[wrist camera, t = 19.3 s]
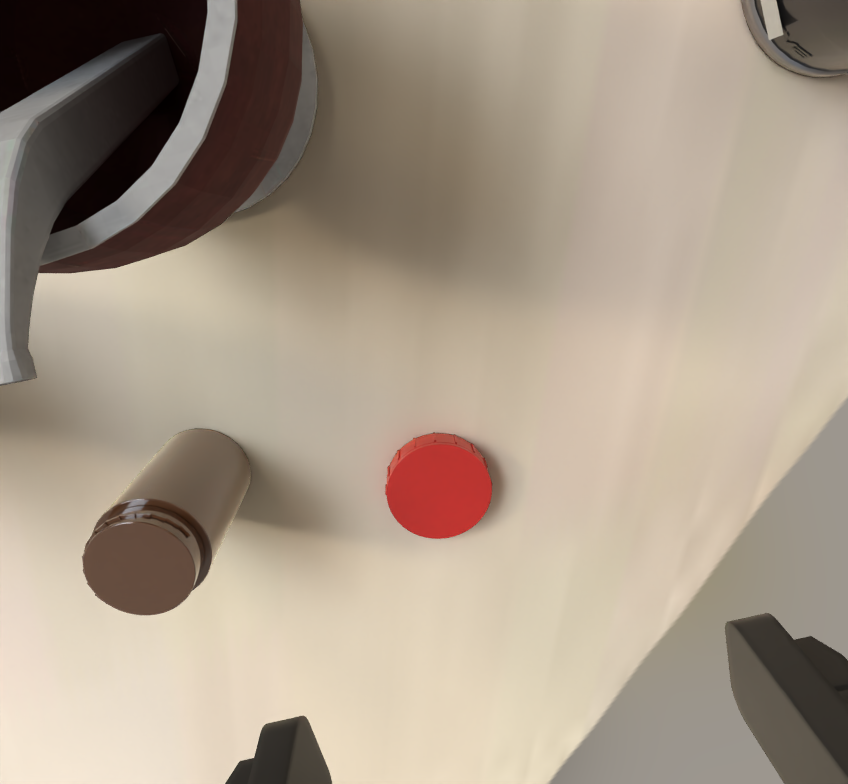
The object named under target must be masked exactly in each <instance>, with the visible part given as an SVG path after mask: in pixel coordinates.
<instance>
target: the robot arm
mask: <svg viewBox="0 0 848 784" xmlns="http://www.w3.org/2000/svg"><path fill="white" fill-rule="evenodd" d="M741 2H742V7H743V11H744V15H745V18H746V21H747V24H748V26H749V28H750V31H751V33H752V35H753V36H754V38H755V40H756V41H757V43H758V44H759V46H760V47H761V48H762V50H763V51H764V52H765V53H766V54H767V55H768V56H769V57H770V58H771V59H773V60H774V61H775V62H776V63H778V64H779V65H781V66H783V67H784V68H786V69H788V70H790V71H792V72H795V73H798V74H802V75H807V76H813V77H830V76H838V75H842V74H846V73H848V0H741ZM725 633H726V643H727V652H728V661H729V670H730V679H731V687H732V691H733V694H734V698H735V700H736V703H737V705H738V708H739V710H740V712H741V715H742V716H743V718H744V720H745V722H746V724H747V725H748V727H749V728H750V730H751V732H752V733H753V735H754V736H755V738H756V739H757V741H758V743H759V744H760V746H761V747H762V749H763V750H764V752H765V754H766V755H767V757H768V758H769V760H770V762H771V763H772V765H773V766H774V768H775V769H776V771H777V773H778V774H779V776H780V777H781V779H782V780H783V782H784V783H785V784H848V660H847V659H846V658H845V657H844V656H843V655H842V654H840V653H838V652H837V651H835V650H833V649H832V648H830V647H828V646H827V645H825V644H823V643H822V642H820V641H818V640H817V639H815V638H813V637H812V636H810V637H806V638H800V639H796V640H793V638H792V637H791V636H790V635H789V634H788V632H787V631H786V630H785V629H784V628H783V627H782V625H781V624H780V623H779V622H778V621H777V620H776V619H775V618H774V617H773V616H772V615H771V614H769V613H765V614H760V615H756V616H752V617H748V618H743V619H738V620H734V621H730V622H727V623H726V625H725ZM225 784H332V781H331V776H330V773H329V770H328V767H327V765H326V762H325V760H324V757H323V755H322V753H321V750H320V748H319V745H318V743H317V740H316V738H315V736H314V733H313V731H312V728H311V726H310V723H309V721H308V719H307V718H306V717H305V716H299V717H295V718H291V719H286V720H282V721H277V722H273V723H268V724H265V725H264V727H263V728H262V730H261V734H260V737H259V741H258V745H257V749H256V753H255V757H254V758H252V759H248V760H243V761H240V762H239V763H238V765H237V766H236V768H235V769H234V771H233V773H232V774H231V776H230V777H229V779H228V780H227V782H226V783H225Z"/></svg>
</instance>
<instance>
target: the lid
mask: <svg viewBox="0 0 848 784" xmlns="http://www.w3.org/2000/svg"><path fill="white" fill-rule="evenodd" d="M385 494H386V495H387V501H388V505H389V508H390V510H391V512H392V514H393V516H394V517H395V519H396V520H397V521H398V522H399V523H400V524H401V525H402V526H403V527H404V528H406V529H407V530H408V531H410V532H412V533H414V534H417V535H419V536H422V537H426V538H436V539H440V538H449V537H453V536H456V535H459V534H461V533H463V532H466V531H467V530H469V529H470V528H472V527H473V526H474V525H476V524H477V523H478V522H479V521H480V519H481V518H482V517H483V515H484V514H485V512H486V511H487V509H488V506H489V504H490V500H491V495H492V482H491V479H490V476H489V473H488V470H487V464H486V461H485V458H483V457H482V455H481V454H480V453H479V451H478V450H477V449H476V448H475V447H474V446H473V444H472V443H471V444H470V443H469V442H467V441H466V440H464V439H462V438H460V437H457V436H456V435H450V434H441V433H436V434H435V433H433V434H428V435H424V436H421V437H418V438H416V439H415V438H413V440H412V441H410V442H409V443H407V444H406V445H404V446H403V447H402V448H401V449H400V450H398V451H397V453H396V455H395V456H394V458H393V460H392V462H391V464H390V466H388V474H387V484H386V493H385Z"/></svg>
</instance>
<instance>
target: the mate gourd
mask: <svg viewBox="0 0 848 784" xmlns="http://www.w3.org/2000/svg"><path fill="white" fill-rule="evenodd" d="M317 92H318V78H317V71H316V64H315V57H314V51H313V48H312V45H311V42H310V39H309V36H308V33H307V30H306V27H305V24H304V21H303V19H302V13H301V6H300V0H0V386H1V385H6V384H12V383H17V382H22V381H26V380H31V379H35V378H37V375H36V370H35V366H34V362H33V358H32V356H31V354H30V352H29V350H28V339H29V326H30V317H31V309H32V301H33V294H34V289H35V285H36V280H37V275H38V273H76V272H85V271H93V270H102V269H110V268H117V267H121V266H124V265H127V264H130V263H133V262H137V261H140V260H143V259H146V258H149V257H152V256H155V255H158V254H161V253H164V252H167V251H170V250H173V249H176V248H179V247H182V246H185V245H187V244H189V243H191V242H192V241H194V240H196V239H197V238H199V237H201V236H202V235H204V234H206V233H207V232H209V231H211V230H212V229H214V228H216V227H217V226H219V225H221V224H222V223H223V222H224V221H225V220H226V219H227V218H228V217H229V216H230V215H231V214H232V213H235V212H238V211H241V210H244V209H247V208H249V207H251V206H252V205H254V204H256V203H258V202H259V201H261V200H263V199H264V198H266V197H268V196H269V195H270V194H271V193H272V192H273V191H274V190H275V189H277V188H278V187H279V186H280V185H281V184H282V183H283V182H284V181H285V180H286V179H287V178H288V176H289V175H290V174H291V172H292V171H293V169H294V168H295V166H296V165H297V164H298V162H299V161H300V159H301V157H302V155H303V153H304V150H305V148H306V146H307V143H308V141H309V139H310V136H311V134H312V129H313V124H314V120H315V115H316V111H317Z"/></svg>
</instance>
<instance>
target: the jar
mask: <svg viewBox="0 0 848 784" xmlns="http://www.w3.org/2000/svg"><path fill="white" fill-rule="evenodd" d="M250 480H251V469H250V464H249V461H248V458H247V456H246V454H245V453H244V451H243V450H242V448H241V447H240V446H239V445H238V444H237V443H236V442H235V441H234V440H232V439H231V438H229V437H228V436H226V435H224V434H222V433H219V432H217V431H213V430H209V429H191V430H186V431H183V432H180V433H178V434H176V435H175V436H173V437H172V438H170V439H169V440H168V441H167V442H166V443H165V444H164V445H163V447H162V448H161V449H160V450H159V451H158V452H157V453H156V455H155V456H154V457H153V458H152V459H151V460H150V461H149V463H148V464H147V465H146V466H145V467H144V468H143V469H142V471H141V472H140V473H139V474H138V475H137V476H136V477H135V479H134V480H133V481H132V482H131V483H130V484H129V485H128V487H127V488H126V489H125V490H124V491H123V492H122V493H121V495H120V496H119V497H118V498H117V499H116V500H115V502H114V503H113V504H112V505H111V506H110V507H109V508H108V510H107V511H106V512H105V513H104V514H103V515H102V516H101V518H100V519H99V520H98V522H97V524H96V526H95V528H94V530H93V533H92V536H91V537H90V539H89V540H88V542H87V543H86V546H85V550H84V554H83V556H82V559H83V568H84V569H83V572H84V574H85V577H86V580H87V584H88V585H89V586H90V587H91V589H92V590H93V591H94V592H95V596H97V597H98V598H99V599H101V600H102V601H103V602H105V603H106V604H108V605H110V606H112V607H113V608H116V609H118V610H120V611H123V612H126V613H130V614H135V615H156V614H160V613H164V612H167V611H169V610H171V609H174V608H175V607H177V606H178V605H180V604H181V603H182V602H183V601H184V600H185V599H186V598H187V597H188V596H189V594H190V593H191V591H192V590H194V589H195V588H196V587H197V586H199V585H200V584H201V583H202V581H203V580H204V579H205V577H206V576H207V574H208V572H209V570H210V568H211V566H212V564H213V562H214V559H215V557H216V555H217V553H218V551H219V549H220V547H221V545H222V543H223V540H224V538H225V536H226V534H227V532H228V530H229V528H230V526H231V524H232V521H233V519H234V517H235V515H236V513H237V511H238V509H239V507H240V505H241V502H242V500H243V498H244V496H245V494H246V492H247V490H248V487H249V484H250Z"/></svg>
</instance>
